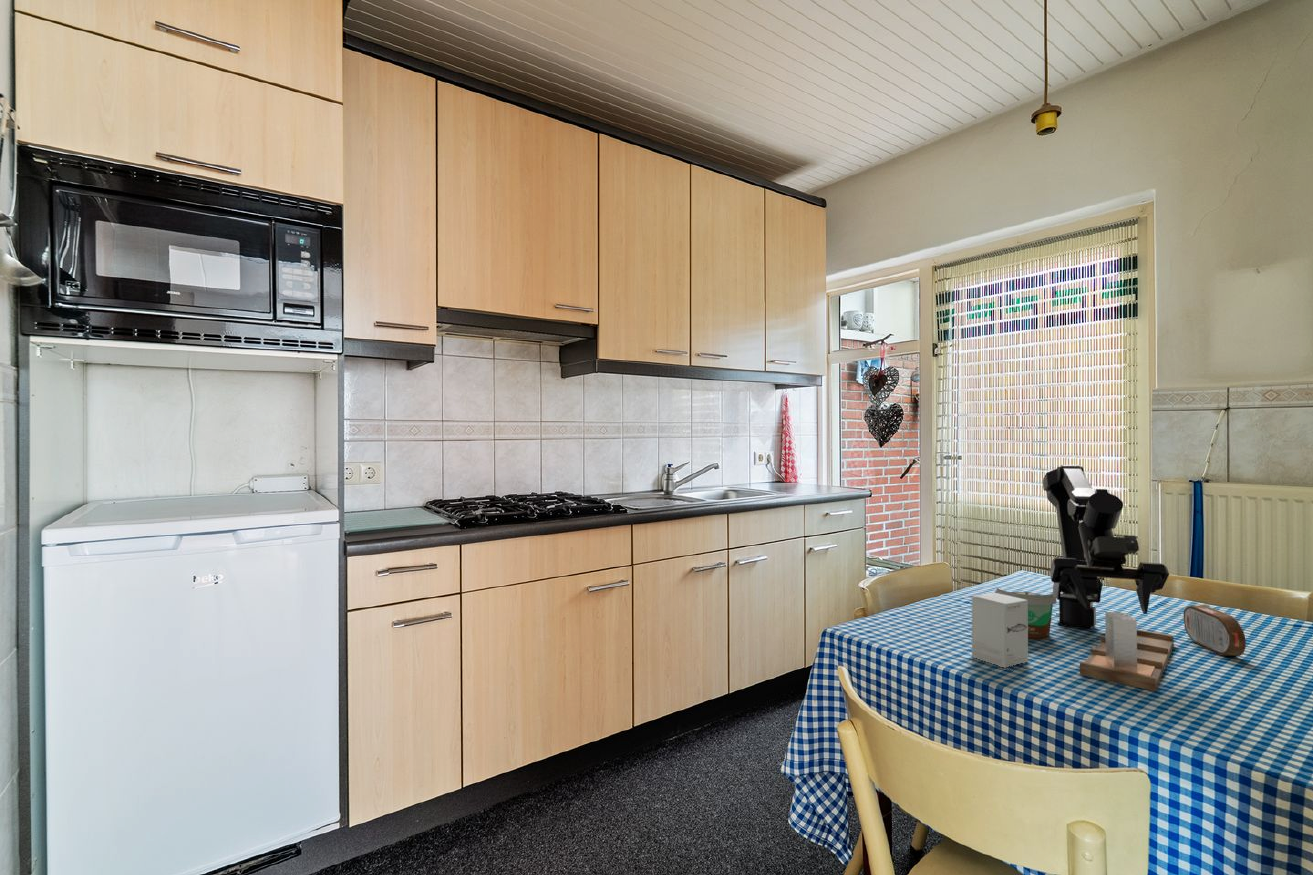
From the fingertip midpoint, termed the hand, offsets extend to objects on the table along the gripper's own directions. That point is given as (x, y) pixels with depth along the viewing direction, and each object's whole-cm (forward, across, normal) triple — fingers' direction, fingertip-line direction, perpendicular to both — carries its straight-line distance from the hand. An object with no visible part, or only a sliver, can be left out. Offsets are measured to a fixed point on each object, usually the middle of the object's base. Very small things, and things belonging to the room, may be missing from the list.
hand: (1116, 610), depth 116 cm
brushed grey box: (+9, 0, +5) cm, 10 cm away
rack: (+3, +4, +13) cm, 14 cm away
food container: (-3, -12, +20) cm, 24 cm away
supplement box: (+10, -20, +6) cm, 23 cm away
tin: (-7, +22, +24) cm, 33 cm away
